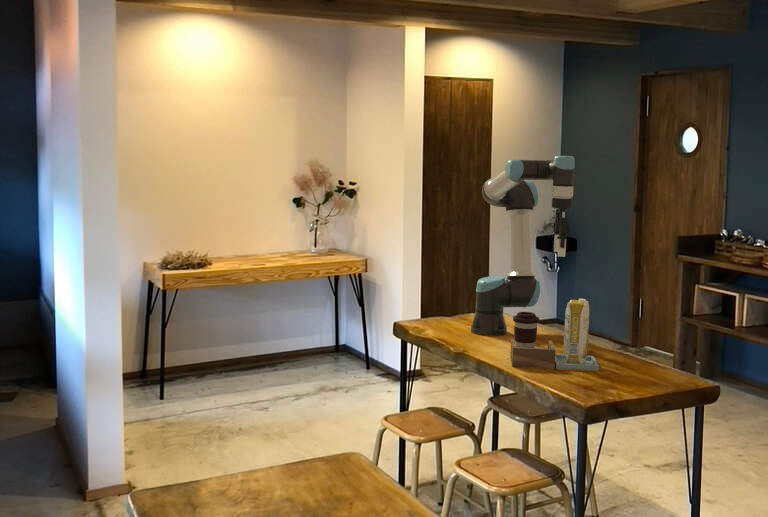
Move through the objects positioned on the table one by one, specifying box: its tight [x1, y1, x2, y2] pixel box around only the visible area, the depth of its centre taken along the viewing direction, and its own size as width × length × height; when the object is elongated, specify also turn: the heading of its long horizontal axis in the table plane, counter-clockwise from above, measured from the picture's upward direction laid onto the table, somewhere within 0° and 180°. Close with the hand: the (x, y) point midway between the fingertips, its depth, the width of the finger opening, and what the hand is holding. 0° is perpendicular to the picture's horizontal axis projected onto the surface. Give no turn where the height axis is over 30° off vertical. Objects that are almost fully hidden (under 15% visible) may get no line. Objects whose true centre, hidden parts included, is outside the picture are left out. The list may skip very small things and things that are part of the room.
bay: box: [509, 338, 557, 370], centre depth 315 cm, size 14×15×7 cm
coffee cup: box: [512, 311, 540, 348], centre depth 331 cm, size 10×10×15 cm
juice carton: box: [562, 298, 590, 364], centre depth 312 cm, size 9×8×24 cm
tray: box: [555, 353, 600, 372], centre depth 313 cm, size 14×15×2 cm
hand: (559, 254), depth 323 cm, fingers open, 13 cm apart
